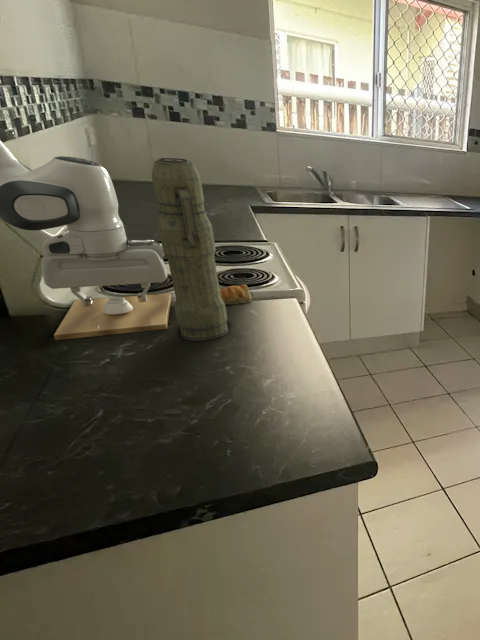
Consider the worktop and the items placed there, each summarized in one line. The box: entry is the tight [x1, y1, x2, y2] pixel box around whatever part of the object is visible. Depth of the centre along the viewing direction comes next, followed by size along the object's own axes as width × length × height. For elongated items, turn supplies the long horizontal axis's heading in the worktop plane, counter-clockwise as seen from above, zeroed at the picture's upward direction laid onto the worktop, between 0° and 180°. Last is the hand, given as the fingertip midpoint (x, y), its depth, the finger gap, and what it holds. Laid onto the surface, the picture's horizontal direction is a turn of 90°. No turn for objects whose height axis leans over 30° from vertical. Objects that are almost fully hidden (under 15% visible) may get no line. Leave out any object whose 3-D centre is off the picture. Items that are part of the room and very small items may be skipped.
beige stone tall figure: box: [151, 157, 229, 342], centre depth 94 cm, size 9×12×35 cm
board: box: [53, 293, 173, 341], centre depth 104 cm, size 18×20×1 cm
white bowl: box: [103, 296, 133, 315], centre depth 103 cm, size 5×3×5 cm
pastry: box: [220, 284, 252, 306], centre depth 117 cm, size 9×7×4 cm
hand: (116, 303), depth 103 cm, fingers open, 8 cm apart
